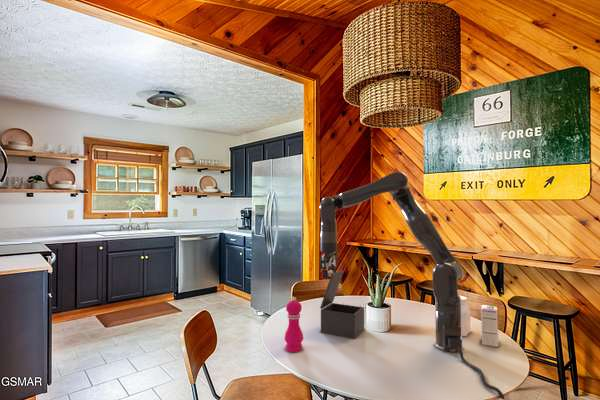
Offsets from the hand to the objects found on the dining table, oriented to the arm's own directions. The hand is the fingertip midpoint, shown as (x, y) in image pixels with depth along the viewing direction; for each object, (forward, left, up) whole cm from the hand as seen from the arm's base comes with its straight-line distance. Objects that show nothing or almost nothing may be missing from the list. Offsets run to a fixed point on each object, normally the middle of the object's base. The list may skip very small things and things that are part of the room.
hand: (329, 276), depth 157 cm
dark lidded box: (-3, -6, -23) cm, 24 cm away
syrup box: (-14, -64, -23) cm, 69 cm away
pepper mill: (-24, +14, -23) cm, 36 cm away
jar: (-1, -56, -23) cm, 61 cm away
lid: (-1, -2, -5) cm, 6 cm away
